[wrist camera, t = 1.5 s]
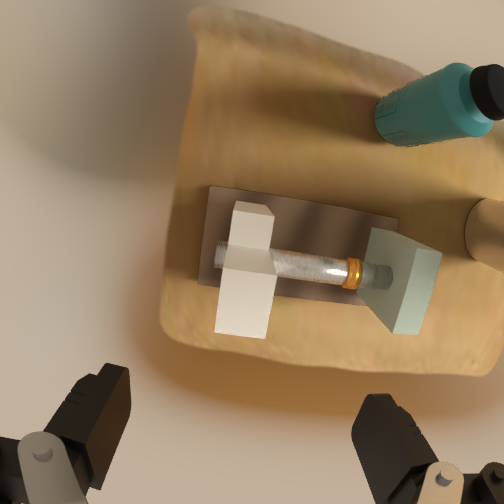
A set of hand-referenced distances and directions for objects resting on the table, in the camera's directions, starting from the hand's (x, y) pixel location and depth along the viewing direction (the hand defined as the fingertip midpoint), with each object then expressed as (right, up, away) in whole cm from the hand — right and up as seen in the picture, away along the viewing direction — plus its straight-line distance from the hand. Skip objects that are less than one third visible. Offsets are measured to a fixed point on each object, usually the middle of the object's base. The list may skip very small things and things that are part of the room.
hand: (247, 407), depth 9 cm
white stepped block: (-1, +6, +23) cm, 24 cm away
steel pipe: (+6, +4, +20) cm, 22 cm away
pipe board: (+6, +5, +27) cm, 28 cm away
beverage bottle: (+17, +21, +24) cm, 35 cm away
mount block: (+15, +4, +26) cm, 30 cm away
